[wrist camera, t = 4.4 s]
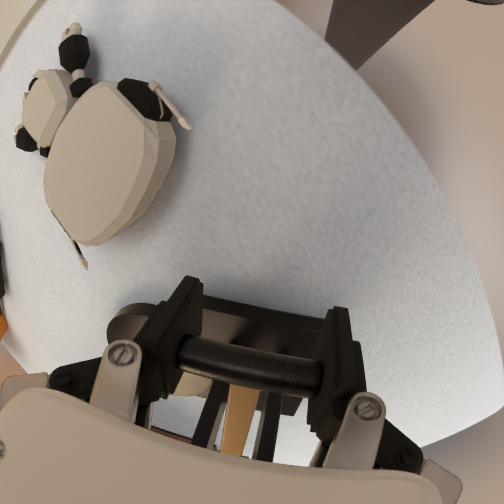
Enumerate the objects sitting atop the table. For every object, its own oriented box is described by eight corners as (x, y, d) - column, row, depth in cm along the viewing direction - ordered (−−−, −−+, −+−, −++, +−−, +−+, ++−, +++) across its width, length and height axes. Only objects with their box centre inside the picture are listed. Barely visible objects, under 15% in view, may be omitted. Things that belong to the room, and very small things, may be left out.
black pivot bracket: (200, 293, 21) (120, 440, 10) (331, 320, 20) (334, 488, 9) (199, 384, 26) (157, 491, 15) (294, 404, 25) (279, 518, 14)
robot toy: (34, 136, 18) (121, 254, 20) (-4, 144, 14) (84, 281, 16) (101, 21, 13) (225, 134, 15) (60, 9, 9) (193, 134, 11)
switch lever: (193, 318, 10) (168, 358, 8) (323, 345, 10) (325, 391, 8) (193, 459, 15) (184, 485, 13) (263, 474, 15) (258, 502, 13)
